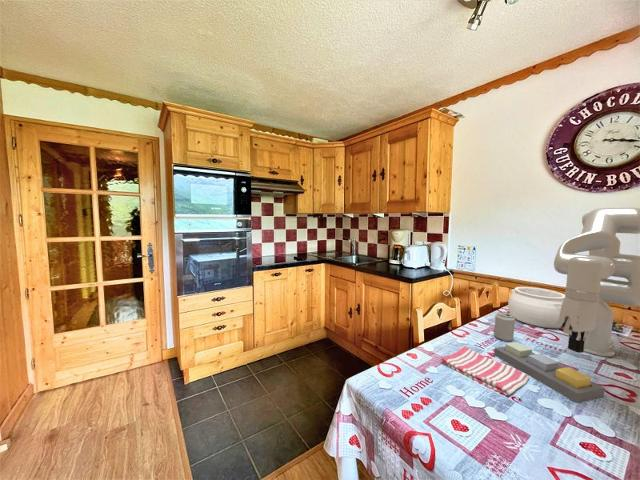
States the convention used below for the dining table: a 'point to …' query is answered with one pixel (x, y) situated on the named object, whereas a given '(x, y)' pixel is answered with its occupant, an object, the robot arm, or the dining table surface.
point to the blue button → (543, 362)
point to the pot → (536, 306)
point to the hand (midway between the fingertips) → (575, 350)
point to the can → (504, 326)
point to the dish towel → (486, 370)
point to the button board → (551, 378)
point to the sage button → (518, 349)
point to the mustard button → (573, 377)
